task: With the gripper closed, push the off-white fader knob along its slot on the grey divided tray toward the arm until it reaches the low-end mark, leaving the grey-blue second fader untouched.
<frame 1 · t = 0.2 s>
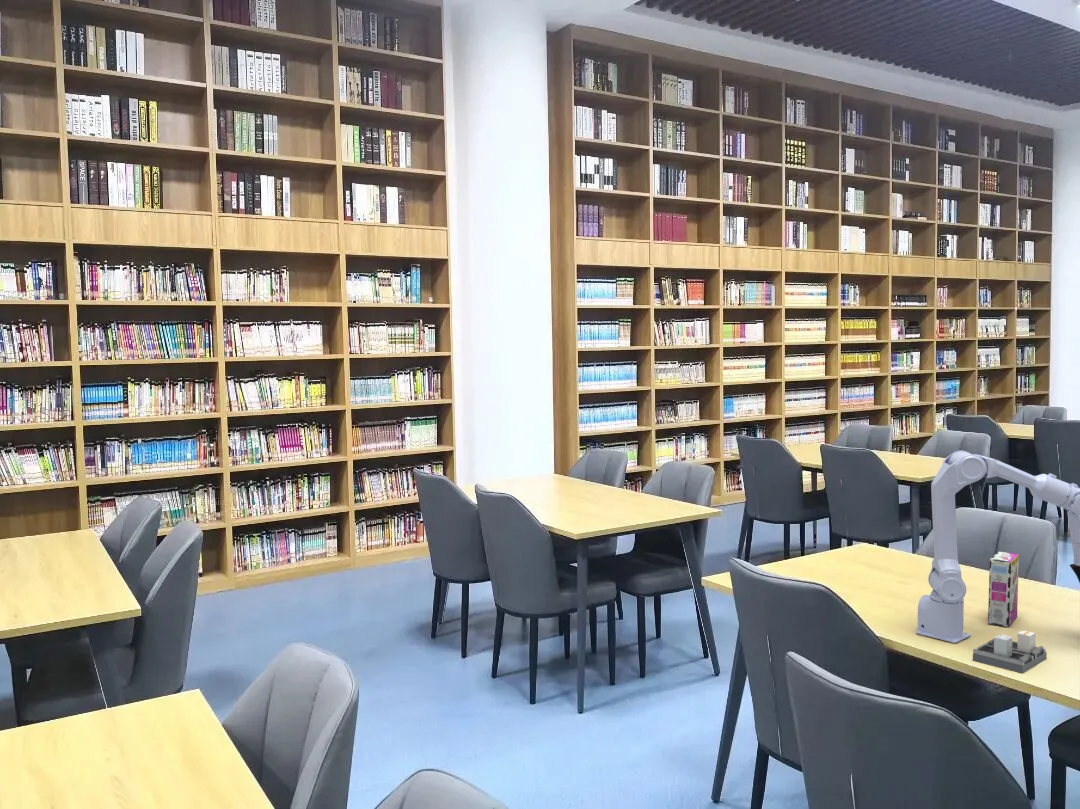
candy bar box: (1003, 621, 206), on the table
fader: (1026, 641, 180), point 4 cm above the table, slide at 2.2 cm
fader b: (1003, 646, 178), point 4 cm above the table, slide at 0.0 cm
grey divided tray: (1009, 659, 180), on the table
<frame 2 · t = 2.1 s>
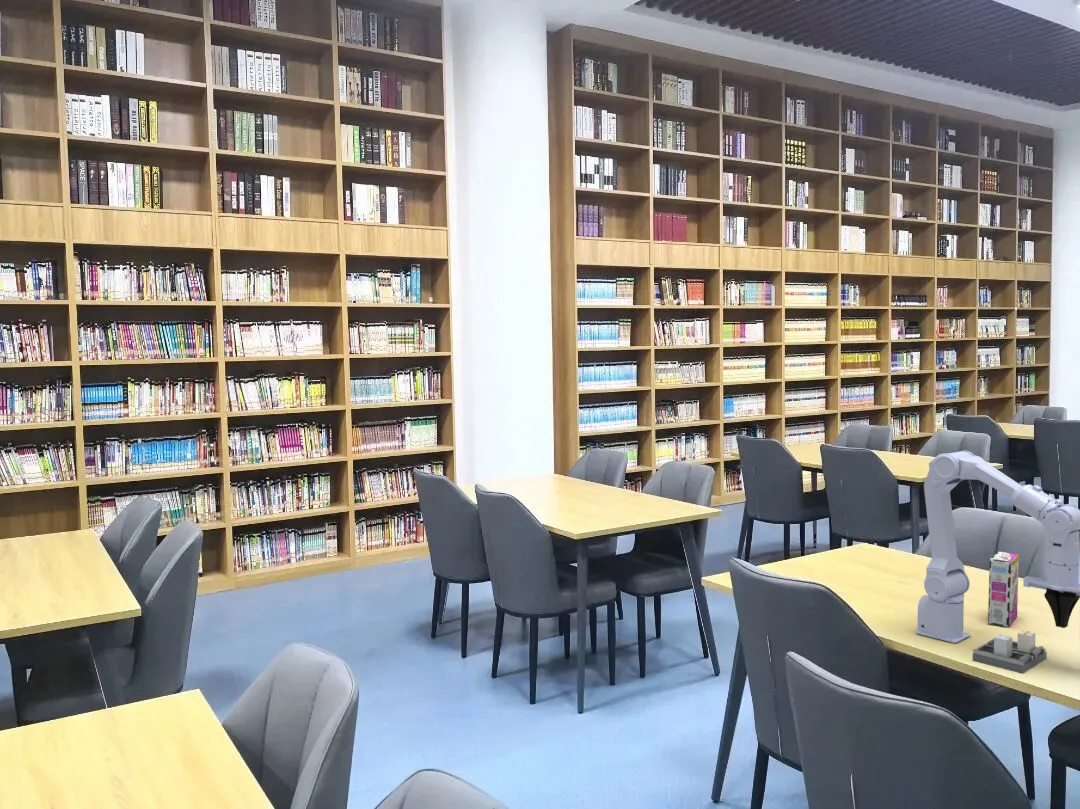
hand: (1061, 626, 175), 9 cm above the table, tool pointing down, fingers closed
nothing on the table moved.
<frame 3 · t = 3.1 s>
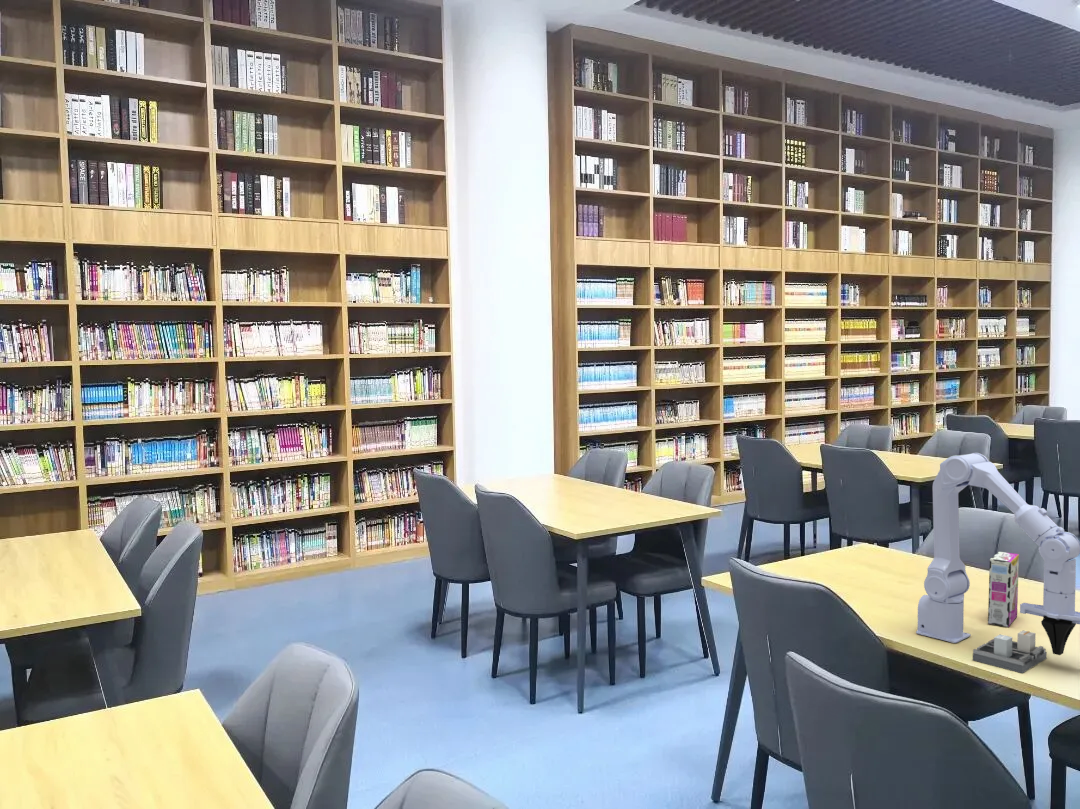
hand: (1058, 653, 175), 3 cm above the table, tool pointing down, fingers closed
nothing on the table moved.
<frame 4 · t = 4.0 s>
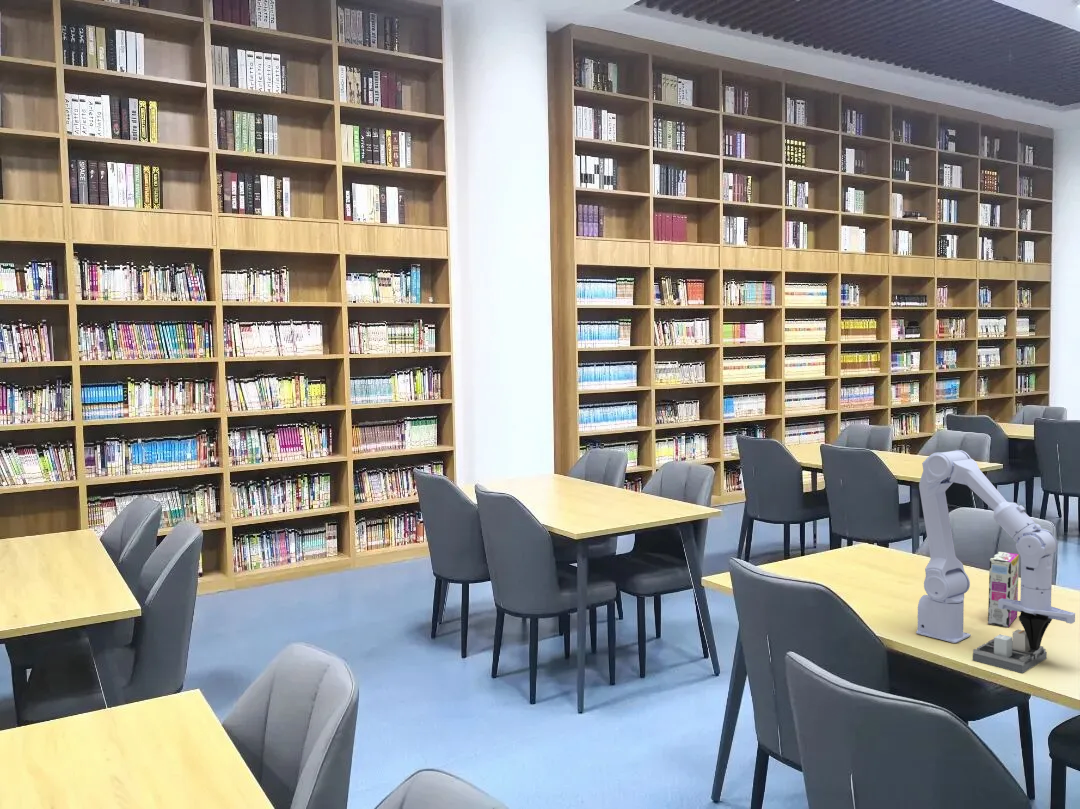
hand: (1034, 647, 179), 3 cm above the table, tool pointing down, fingers closed
fader: (1021, 640, 181), point 4 cm above the table, slide at 1.2 cm, touching gripper
everything else where it was.
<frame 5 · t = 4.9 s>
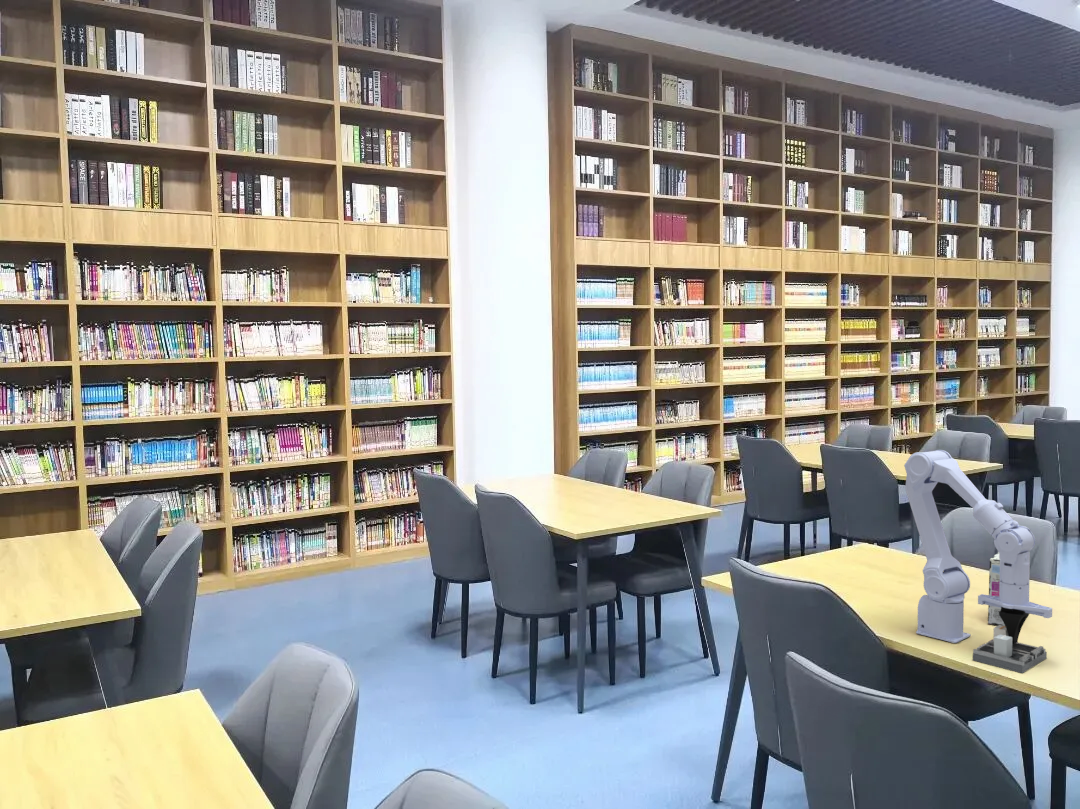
hand: (1013, 642, 182), 3 cm above the table, tool pointing down, fingers closed
fader: (1002, 636, 184), point 4 cm above the table, slide at -2.8 cm, touching grey divided tray, gripper
everything else where it was.
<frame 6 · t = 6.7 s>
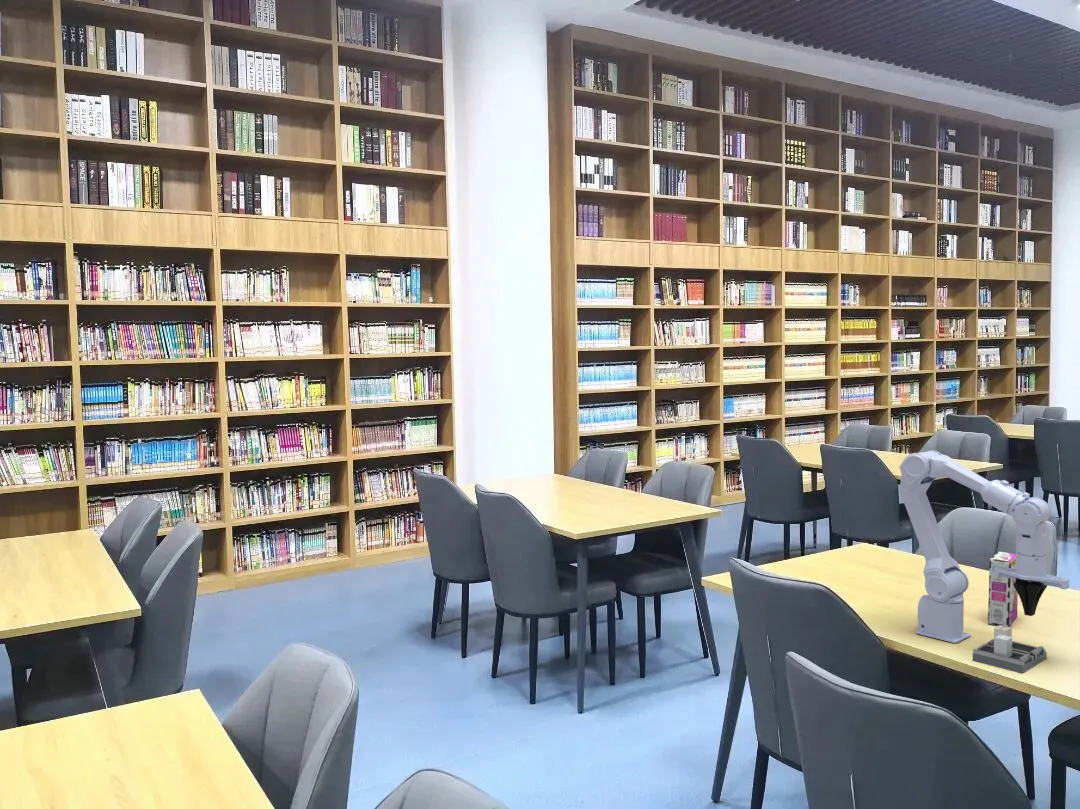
hand: (1029, 614, 181), 9 cm above the table, tool pointing down, fingers closed
fader: (1002, 636, 184), point 4 cm above the table, slide at -2.6 cm
everything else where it was.
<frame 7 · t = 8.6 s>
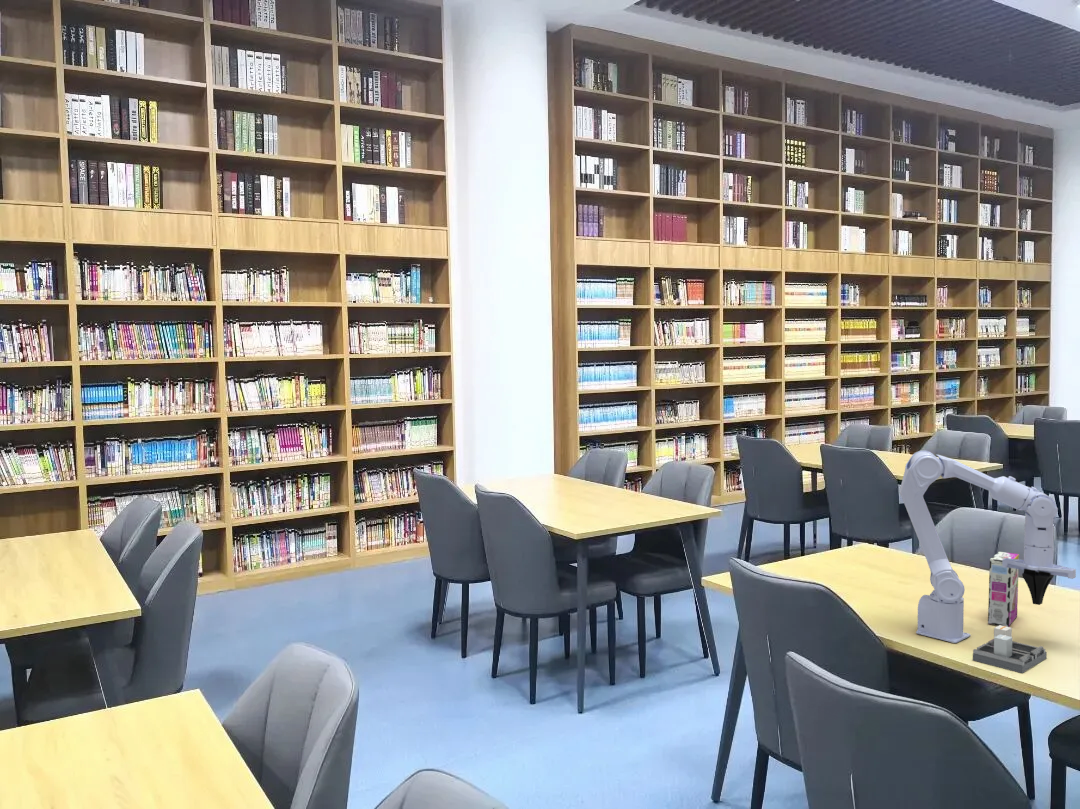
hand: (1037, 603, 189), 9 cm above the table, tool pointing down, fingers closed
nothing on the table moved.
at the end: fader slide at -2.6 cm; fader b slide at 0.0 cm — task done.
